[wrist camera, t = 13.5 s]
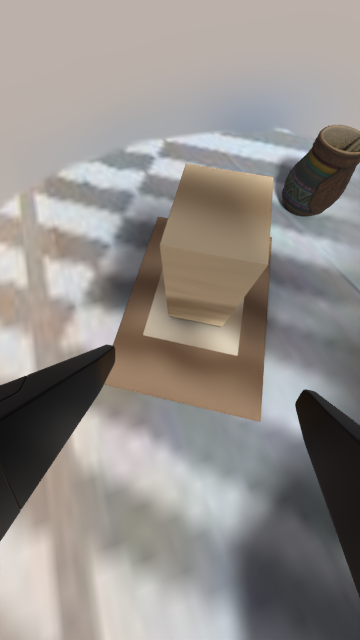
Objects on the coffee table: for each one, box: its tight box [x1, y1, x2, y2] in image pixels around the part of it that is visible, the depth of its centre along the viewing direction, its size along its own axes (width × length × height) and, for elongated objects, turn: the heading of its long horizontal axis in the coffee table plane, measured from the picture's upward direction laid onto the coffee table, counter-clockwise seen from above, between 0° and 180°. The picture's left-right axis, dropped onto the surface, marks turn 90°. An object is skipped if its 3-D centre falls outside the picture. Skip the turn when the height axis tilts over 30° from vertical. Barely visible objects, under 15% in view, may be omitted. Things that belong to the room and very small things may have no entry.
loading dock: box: [104, 217, 272, 422], centre depth 20 cm, size 20×14×3 cm
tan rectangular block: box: [160, 164, 273, 327], centre depth 14 cm, size 6×5×10 cm
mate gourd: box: [282, 125, 360, 216], centre depth 23 cm, size 7×8×10 cm
